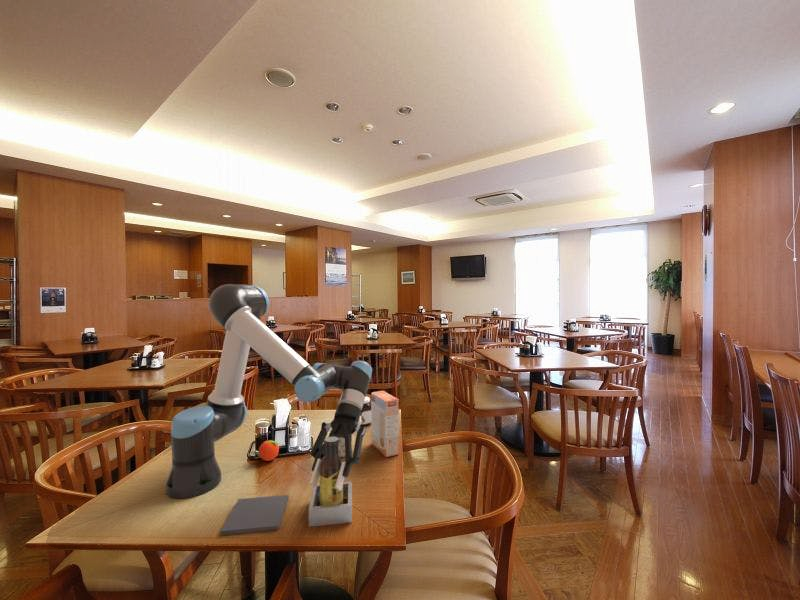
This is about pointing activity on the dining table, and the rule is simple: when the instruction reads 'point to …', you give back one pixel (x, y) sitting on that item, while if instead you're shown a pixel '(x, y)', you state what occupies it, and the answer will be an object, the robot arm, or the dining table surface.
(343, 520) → the grey shallow open box
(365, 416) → the spread jar
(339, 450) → the mug
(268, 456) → the clementine
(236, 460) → the dining table surface
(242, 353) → the robot arm
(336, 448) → the sauce bottle
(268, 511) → the rubber mat
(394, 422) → the cracker box
